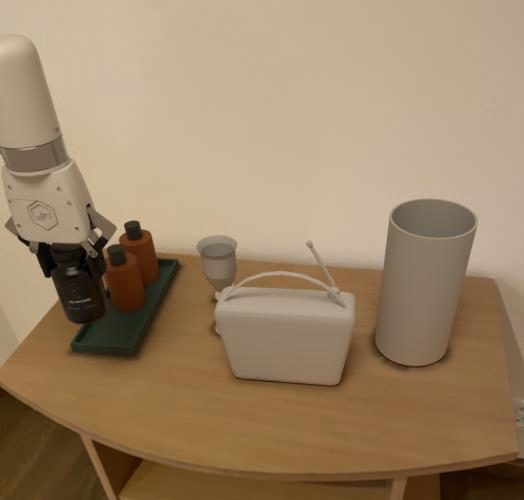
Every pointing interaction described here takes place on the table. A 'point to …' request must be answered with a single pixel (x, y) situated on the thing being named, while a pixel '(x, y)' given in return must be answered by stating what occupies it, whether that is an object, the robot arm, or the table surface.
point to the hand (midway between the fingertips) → (76, 273)
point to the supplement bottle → (77, 284)
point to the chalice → (218, 261)
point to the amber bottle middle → (124, 280)
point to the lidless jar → (218, 294)
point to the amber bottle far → (141, 251)
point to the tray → (125, 320)
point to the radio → (287, 330)
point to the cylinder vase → (423, 278)
